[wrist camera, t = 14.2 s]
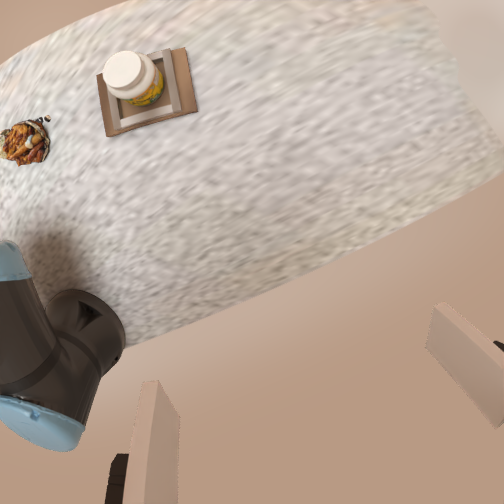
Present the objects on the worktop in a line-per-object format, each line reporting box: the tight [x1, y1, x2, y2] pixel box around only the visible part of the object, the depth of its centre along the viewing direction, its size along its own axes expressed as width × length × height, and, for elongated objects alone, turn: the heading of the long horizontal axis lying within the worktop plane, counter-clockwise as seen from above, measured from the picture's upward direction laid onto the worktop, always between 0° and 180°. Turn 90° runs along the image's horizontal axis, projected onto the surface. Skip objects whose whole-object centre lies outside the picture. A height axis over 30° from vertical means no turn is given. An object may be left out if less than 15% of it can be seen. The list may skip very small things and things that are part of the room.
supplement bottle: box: [103, 51, 165, 107], centre depth 25 cm, size 5×5×10 cm
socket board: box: [96, 47, 198, 137], centre depth 29 cm, size 12×9×3 cm
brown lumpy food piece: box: [0, 115, 51, 166], centre depth 28 cm, size 7×12×4 cm, turn 89°
